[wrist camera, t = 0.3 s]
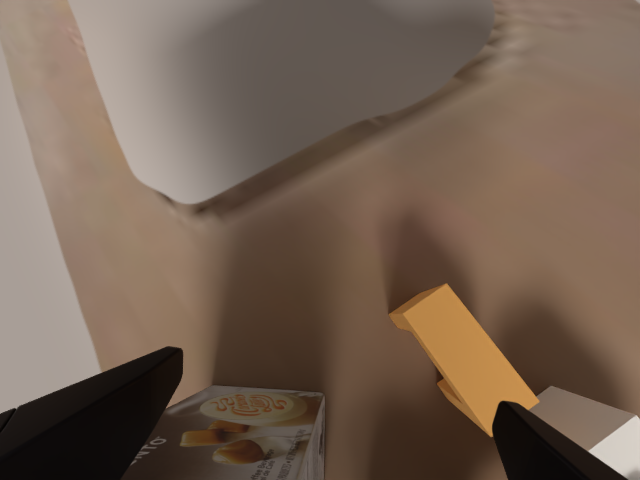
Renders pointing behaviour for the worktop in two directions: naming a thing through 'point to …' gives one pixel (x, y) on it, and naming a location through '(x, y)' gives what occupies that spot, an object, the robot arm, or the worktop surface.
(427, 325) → the orange u-channel
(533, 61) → the worktop surface
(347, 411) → the worktop surface
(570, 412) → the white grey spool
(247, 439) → the coffee box
